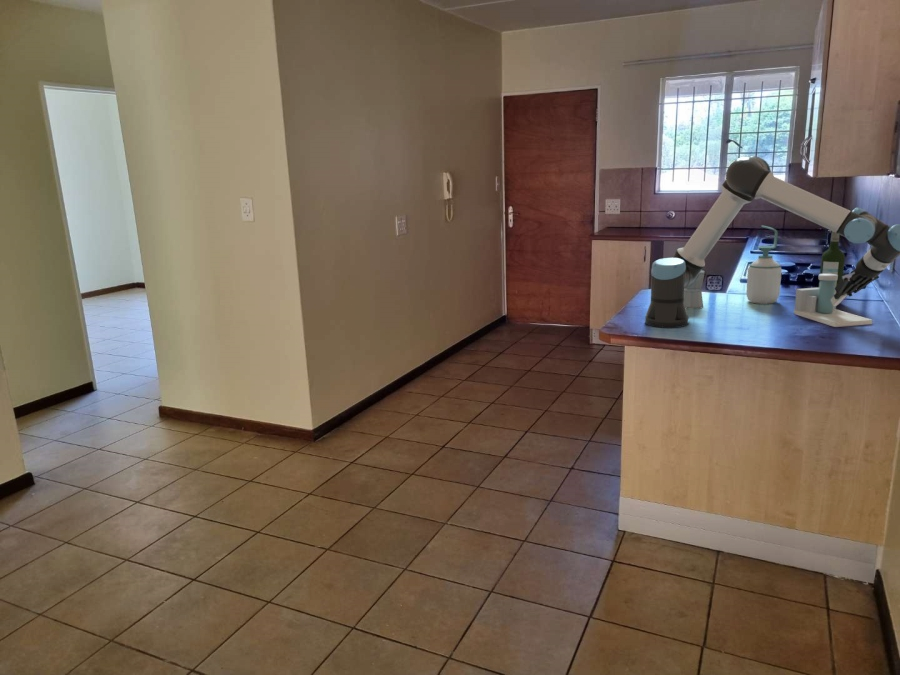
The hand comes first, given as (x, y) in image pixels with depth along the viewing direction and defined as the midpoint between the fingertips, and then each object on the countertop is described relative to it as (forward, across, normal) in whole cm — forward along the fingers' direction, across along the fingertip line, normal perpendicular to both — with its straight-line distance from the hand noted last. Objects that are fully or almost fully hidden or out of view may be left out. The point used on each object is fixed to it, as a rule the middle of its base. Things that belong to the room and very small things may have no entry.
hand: (833, 302), depth 233 cm
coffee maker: (+30, -34, +21) cm, 50 cm away
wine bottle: (+21, +16, +12) cm, 29 cm away
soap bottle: (+28, -6, +19) cm, 34 cm away
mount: (+4, 0, -5) cm, 6 cm away
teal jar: (+6, 0, 0) cm, 6 cm away
